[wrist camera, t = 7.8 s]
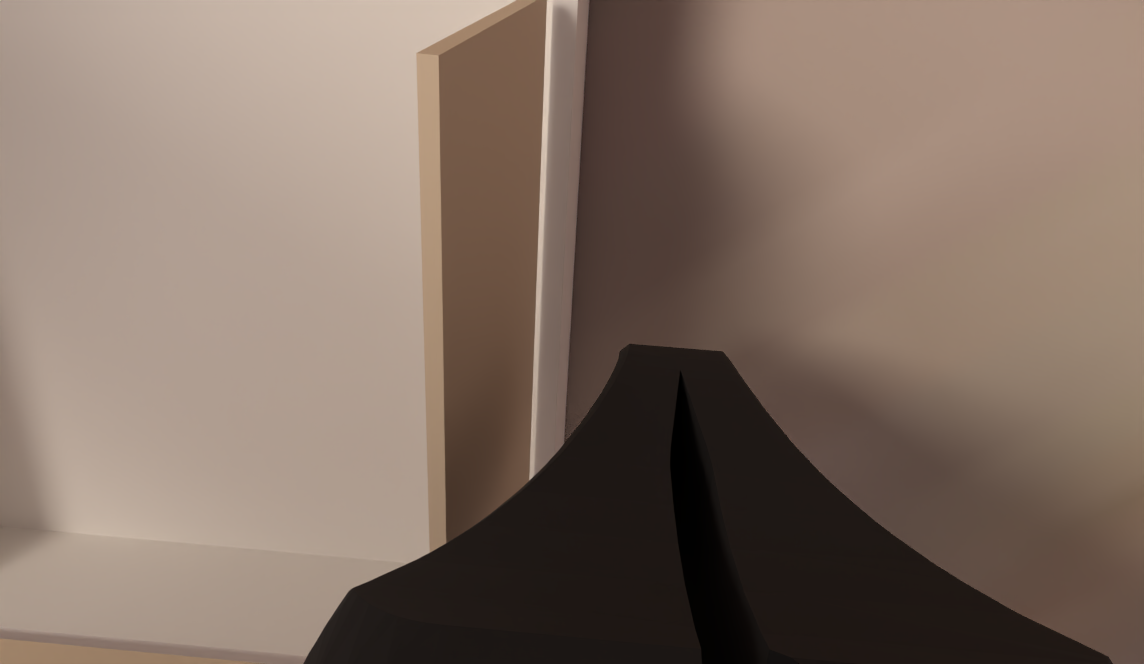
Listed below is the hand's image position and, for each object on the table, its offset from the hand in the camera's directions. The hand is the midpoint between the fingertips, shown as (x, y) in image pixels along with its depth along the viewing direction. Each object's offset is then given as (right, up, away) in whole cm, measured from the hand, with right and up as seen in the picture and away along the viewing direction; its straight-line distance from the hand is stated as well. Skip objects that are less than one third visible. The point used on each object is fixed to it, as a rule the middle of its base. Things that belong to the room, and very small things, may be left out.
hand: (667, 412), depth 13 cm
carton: (-7, +3, +4) cm, 9 cm away
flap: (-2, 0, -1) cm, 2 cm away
